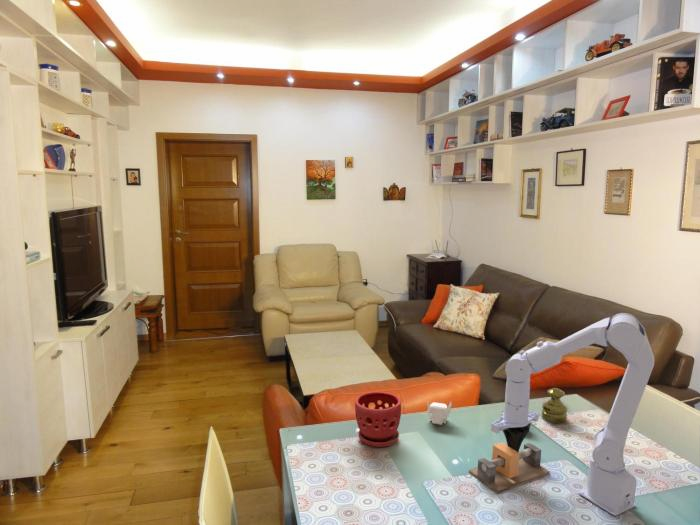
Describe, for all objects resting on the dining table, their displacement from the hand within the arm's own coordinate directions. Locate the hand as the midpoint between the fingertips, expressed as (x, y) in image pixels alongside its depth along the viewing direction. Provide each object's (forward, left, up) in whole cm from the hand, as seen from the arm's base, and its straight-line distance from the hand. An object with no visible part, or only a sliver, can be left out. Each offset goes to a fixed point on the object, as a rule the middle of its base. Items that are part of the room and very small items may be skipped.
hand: (513, 452), depth 128 cm
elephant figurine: (+30, 0, -6) cm, 31 cm away
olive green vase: (+15, -34, -6) cm, 38 cm away
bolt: (+20, -23, -6) cm, 31 cm away
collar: (0, +3, -5) cm, 6 cm away
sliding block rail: (0, +1, -5) cm, 5 cm away
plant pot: (+30, +22, -6) cm, 38 cm away
